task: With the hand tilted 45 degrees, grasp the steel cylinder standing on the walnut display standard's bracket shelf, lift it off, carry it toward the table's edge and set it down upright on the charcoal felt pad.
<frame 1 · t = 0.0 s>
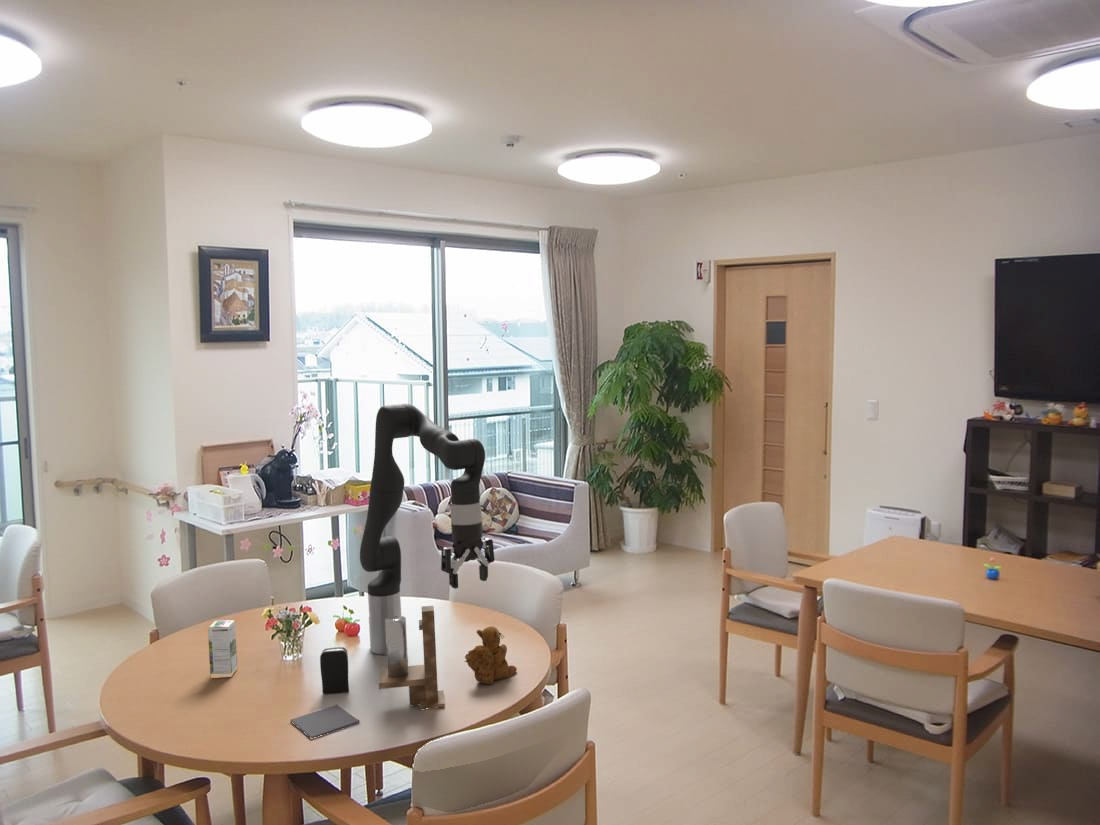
hand: (469, 584, 211), 29 cm above the table, tool pointing down, fingers open, 8 cm apart
stuffed squirrel: (490, 678, 225), on the table
syrup box: (224, 675, 233), on the table
battery charger: (336, 691, 220), on the table
steel cylinder: (398, 674, 210), point 8 cm above the table, touching walnut standard
felt pad: (324, 722, 202), on the table
walnut standard: (432, 701, 212), on the table
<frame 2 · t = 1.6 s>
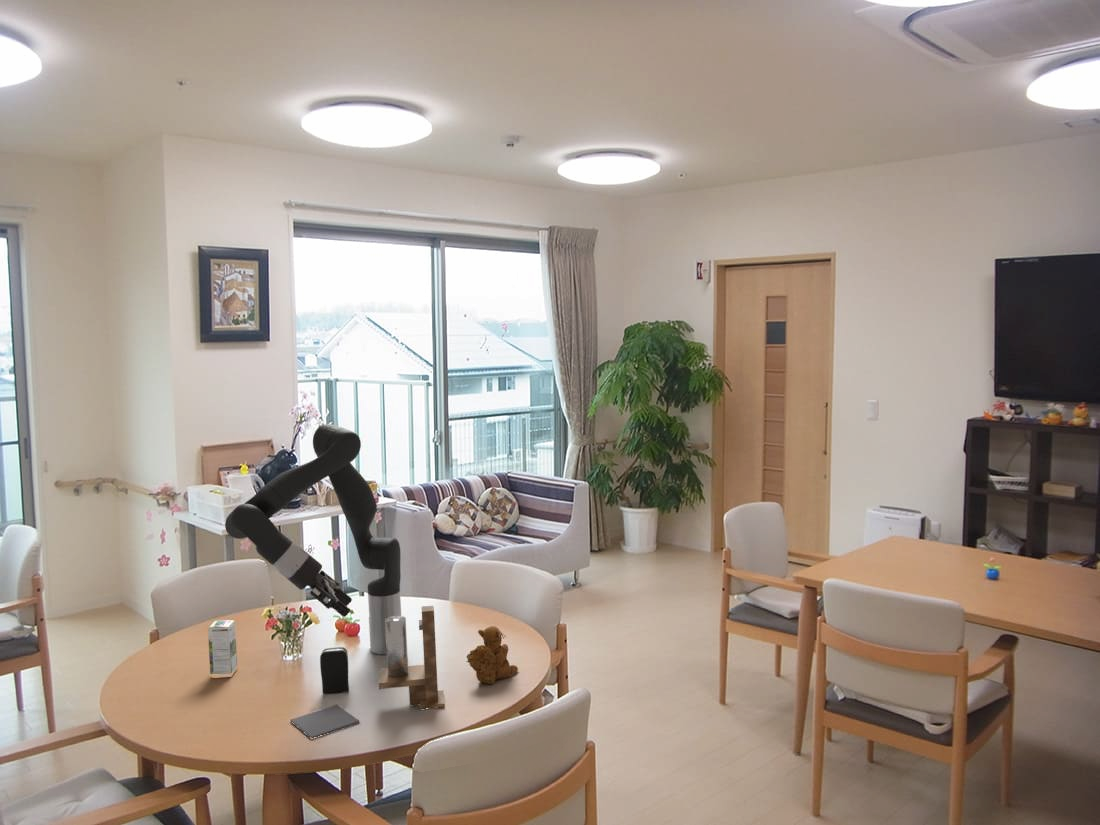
hand: (348, 608, 206), 26 cm above the table, tool tilted 45°, fingers open, 8 cm apart
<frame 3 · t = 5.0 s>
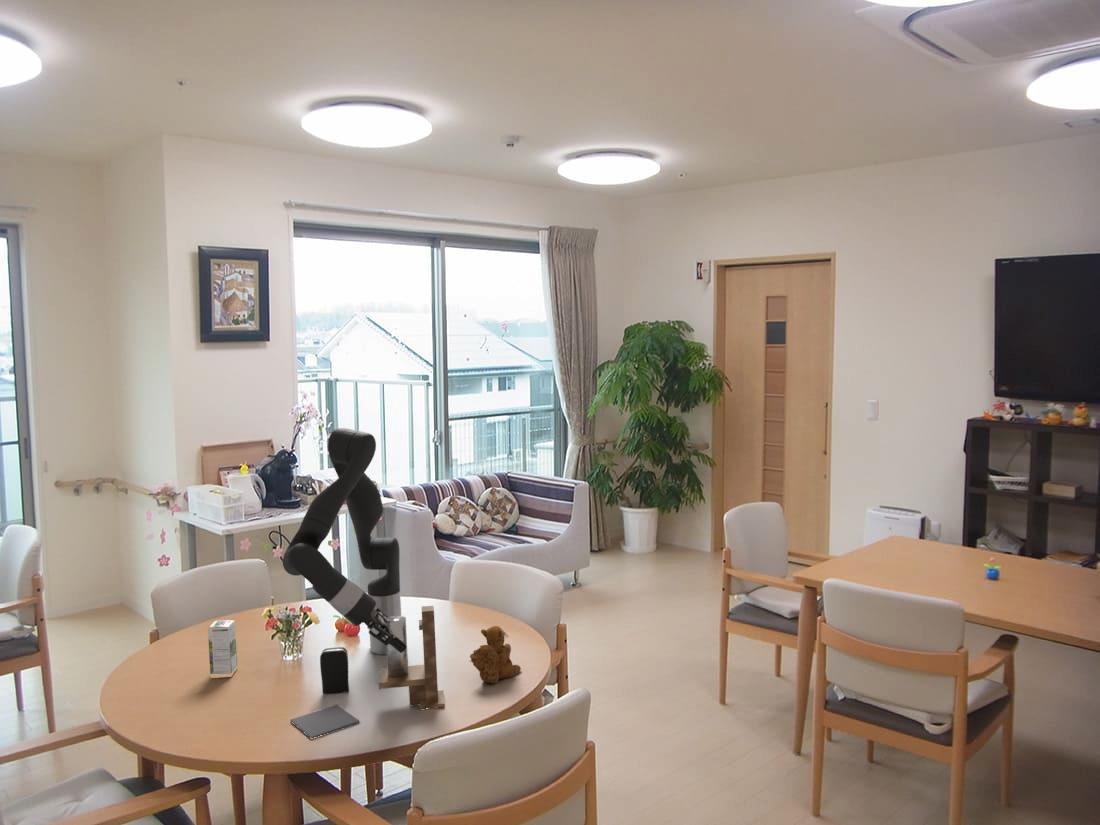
hand: (404, 645, 209), 15 cm above the table, tool tilted 45°, fingers closed on steel cylinder, 5 cm apart
steel cylinder: (398, 674, 210), point 8 cm above the table, touching gripper, walnut standard
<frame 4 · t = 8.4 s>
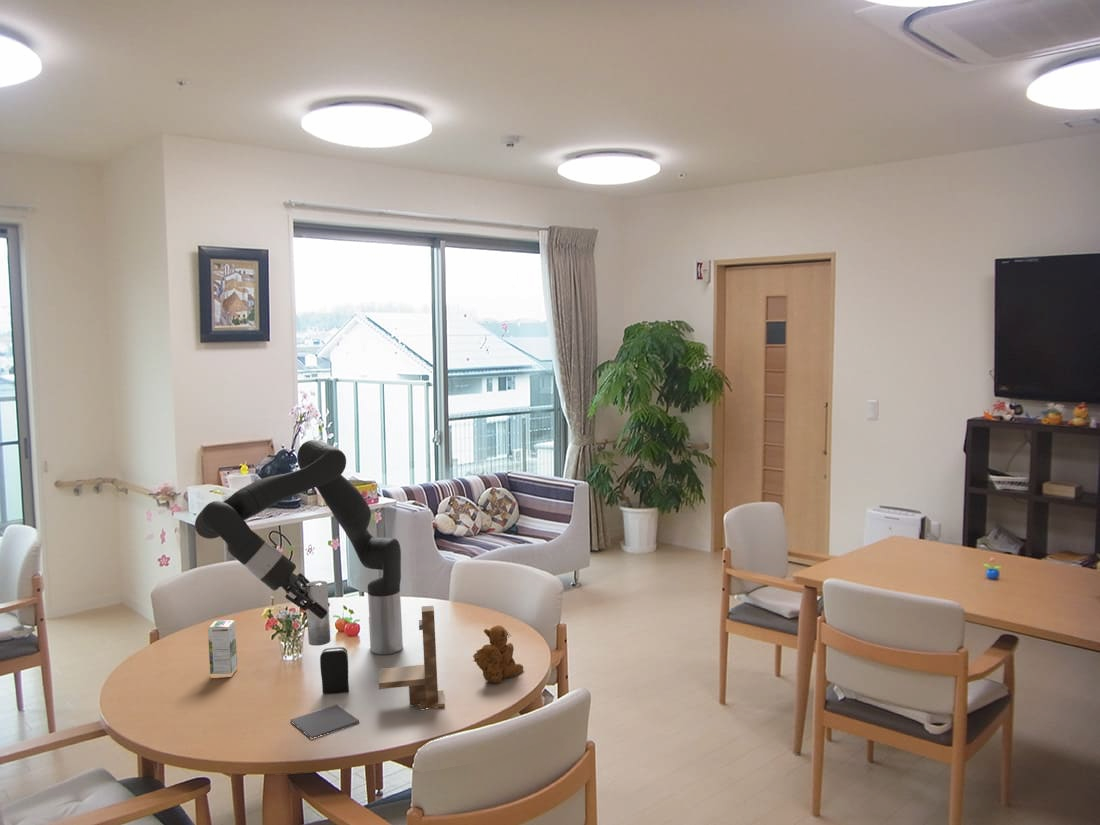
hand: (325, 611, 200), 27 cm above the table, tool tilted 45°, fingers closed on steel cylinder, 5 cm apart
steel cylinder: (319, 641, 200), point 20 cm above the table, touching gripper
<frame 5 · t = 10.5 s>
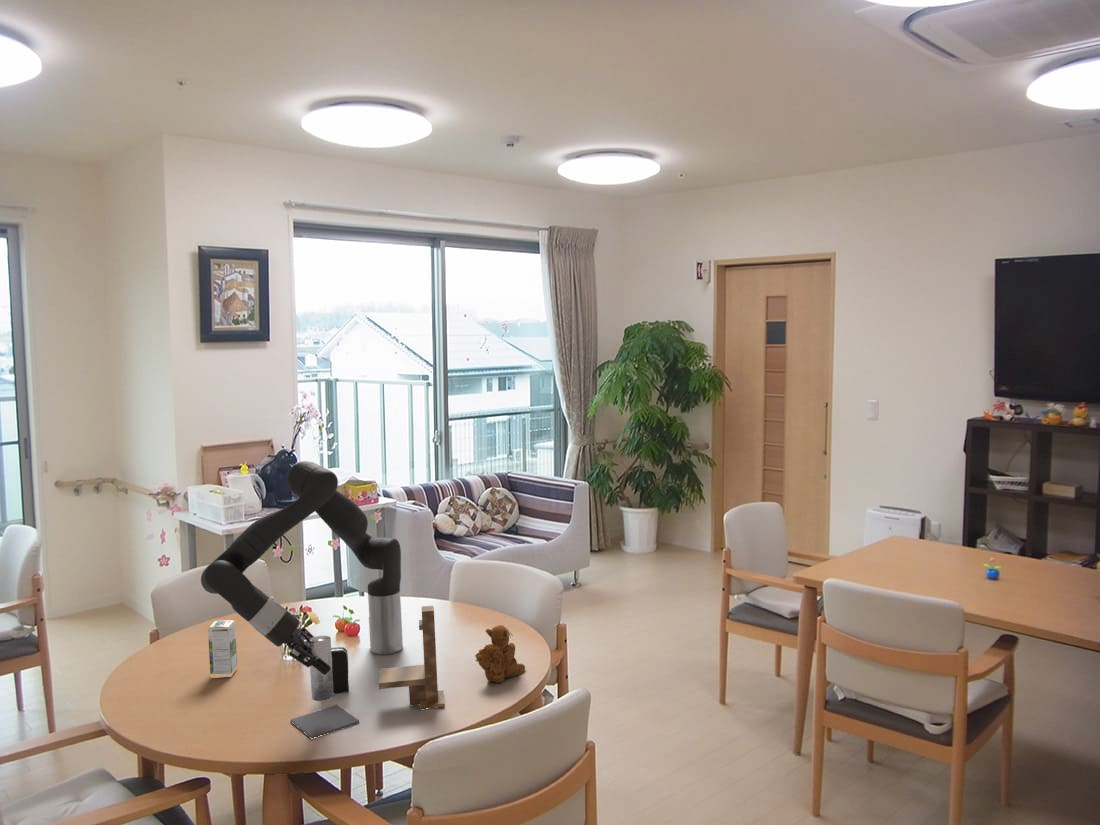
hand: (329, 666, 201), 14 cm above the table, tool tilted 45°, fingers closed on steel cylinder, 5 cm apart
steel cylinder: (322, 696, 201), point 7 cm above the table, touching gripper
when the fingers open (9 cm above the table, at t = 12.0 s): steel cylinder drops 1 cm, resting on felt pad.
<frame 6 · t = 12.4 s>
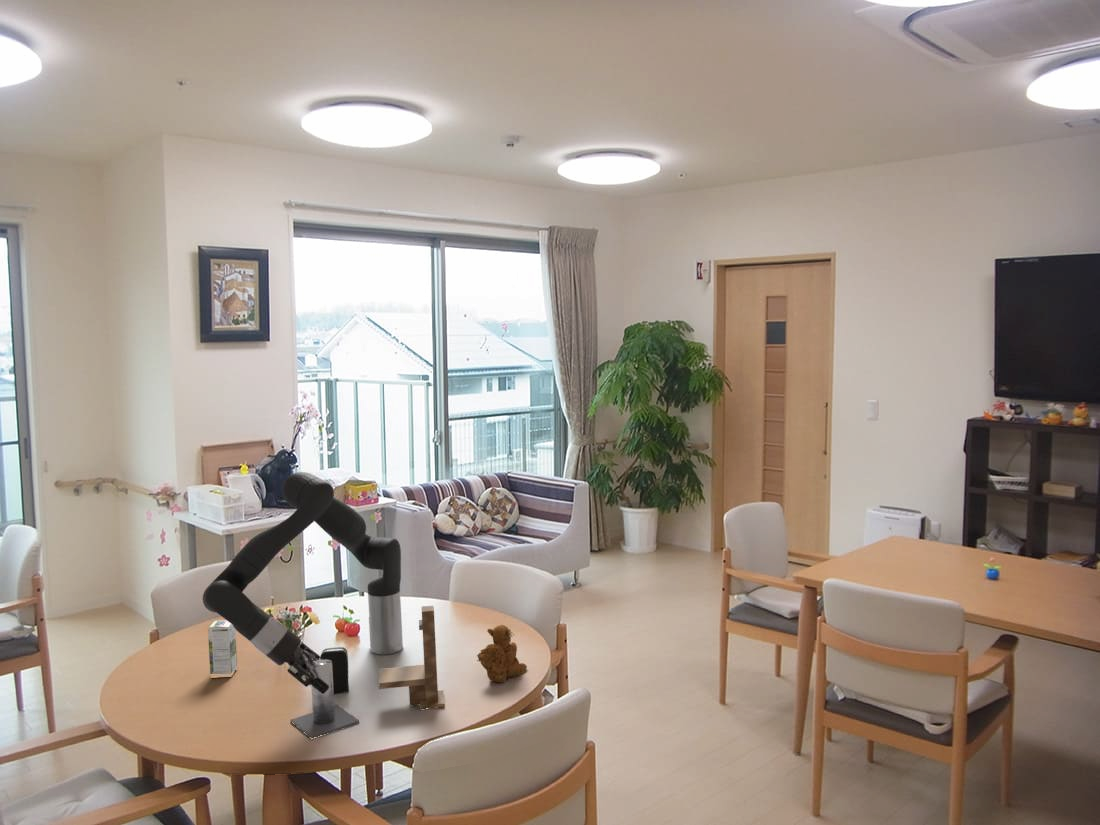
hand: (328, 683, 201), 10 cm above the table, tool tilted 45°, fingers open, 8 cm apart
steel cylinder: (324, 720, 202), point 1 cm above the table, touching felt pad
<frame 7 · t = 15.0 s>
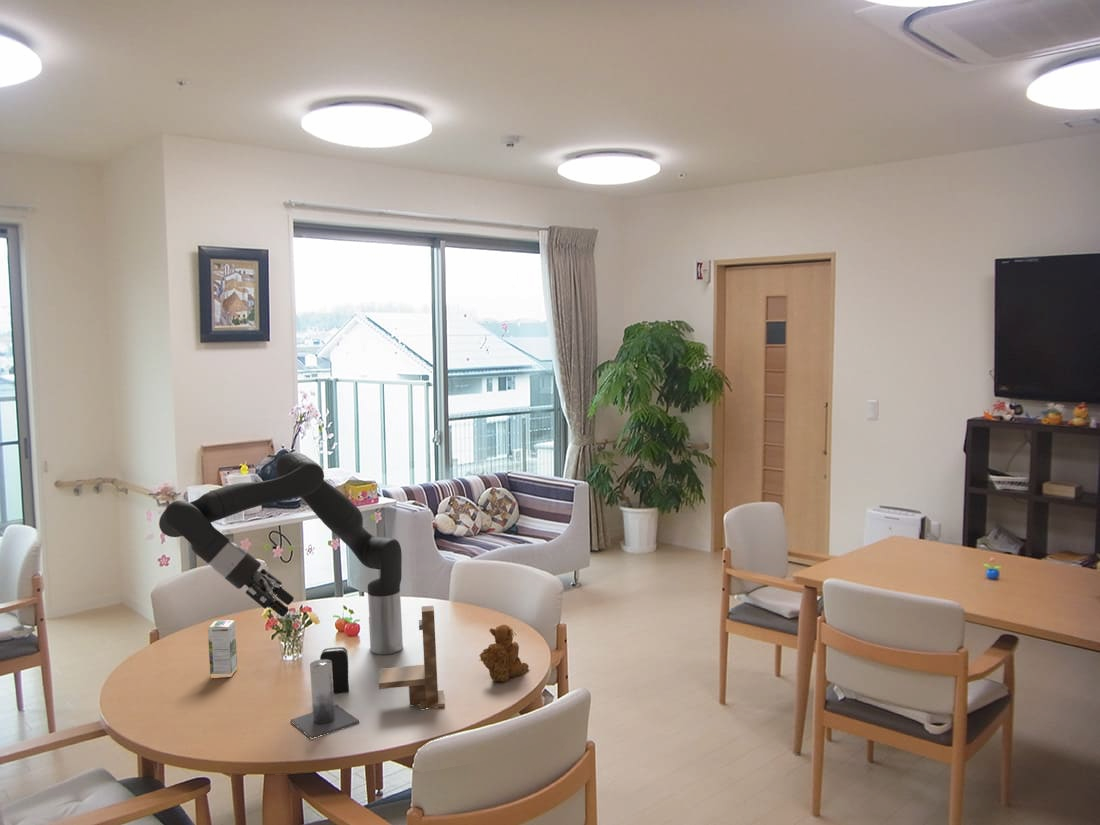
hand: (288, 607, 201), 28 cm above the table, tool tilted 45°, fingers open, 8 cm apart
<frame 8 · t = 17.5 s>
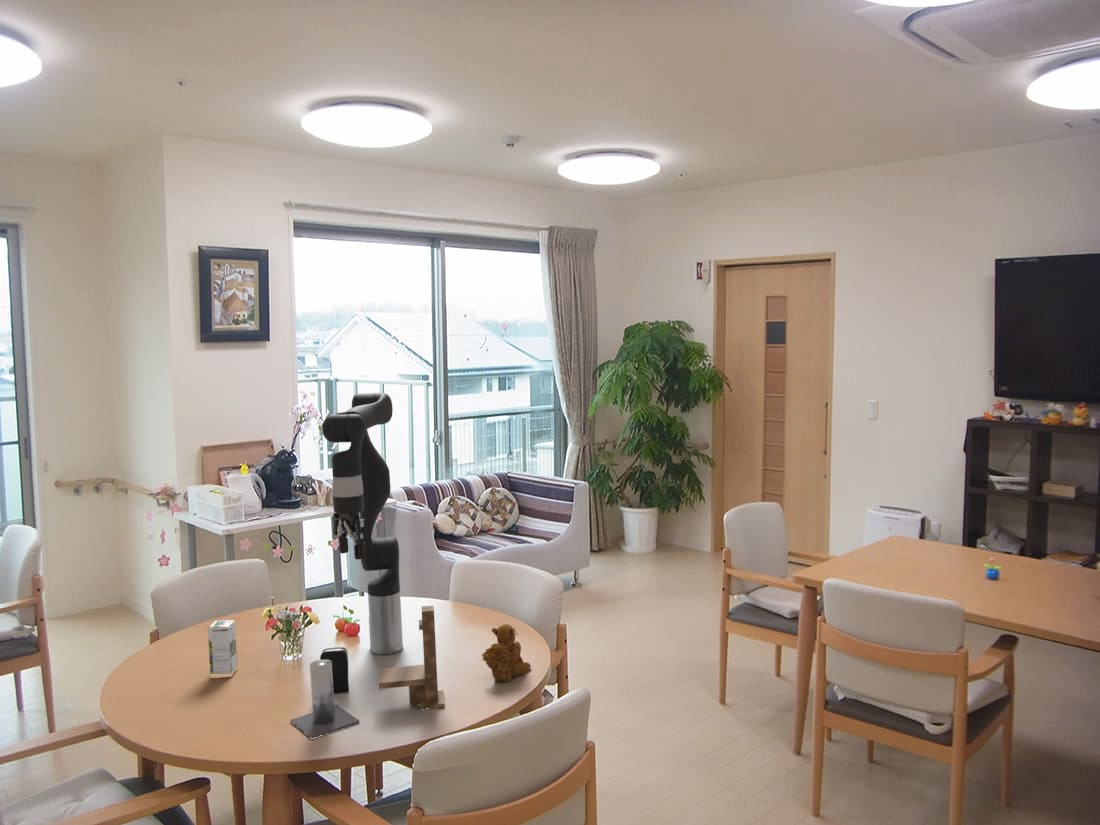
hand: (351, 555, 215), 36 cm above the table, tool pointing down, fingers open, 8 cm apart
at the end: steel cylinder 0.1 cm from the felt pad (horizontally); steel cylinder tilted 0°; steel cylinder point 0.6 cm above the table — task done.
